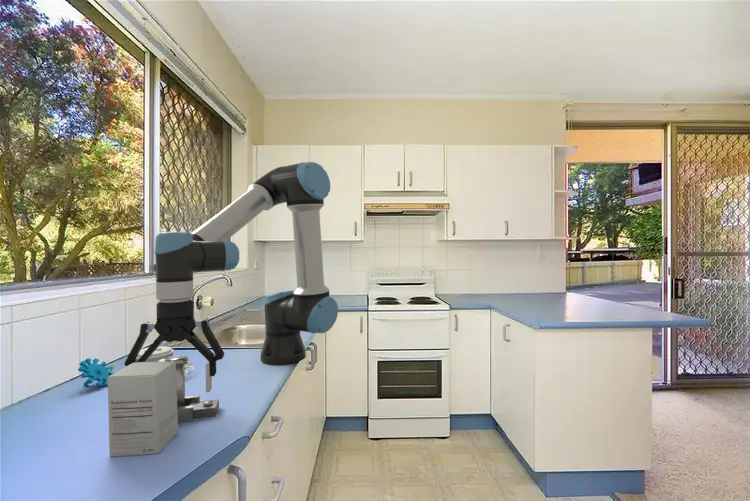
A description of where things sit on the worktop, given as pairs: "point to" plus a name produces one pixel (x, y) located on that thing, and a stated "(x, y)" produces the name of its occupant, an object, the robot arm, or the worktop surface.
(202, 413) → the bolted rod clamp
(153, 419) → the supplement box
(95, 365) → the gear
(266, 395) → the worktop surface
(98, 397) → the worktop surface
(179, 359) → the pin
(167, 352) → the lid
